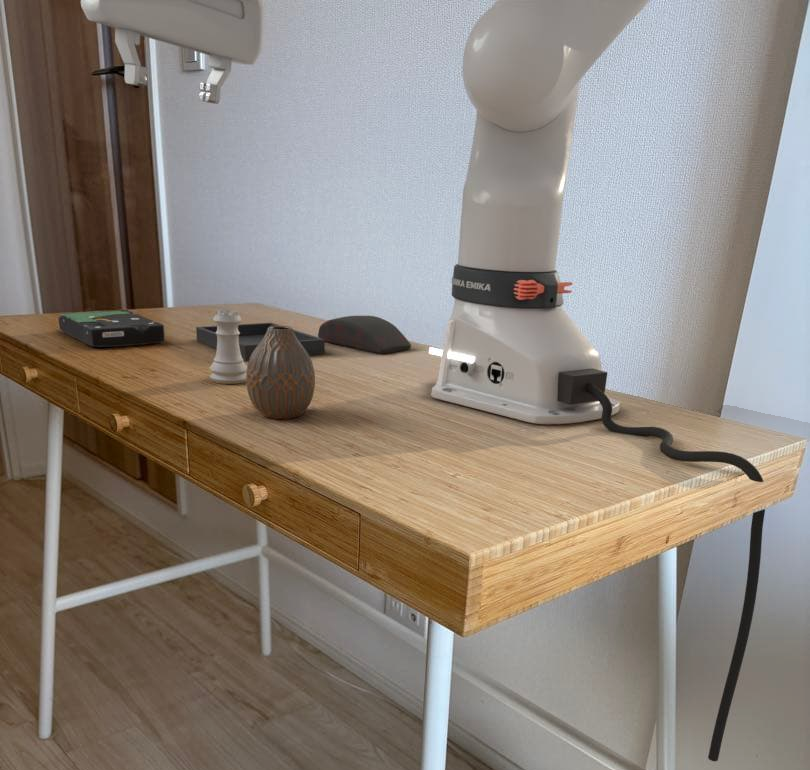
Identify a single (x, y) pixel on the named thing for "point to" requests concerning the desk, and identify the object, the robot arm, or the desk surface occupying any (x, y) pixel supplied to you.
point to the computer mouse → (364, 334)
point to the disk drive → (111, 328)
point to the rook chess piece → (228, 350)
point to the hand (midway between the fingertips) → (173, 94)
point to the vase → (280, 375)
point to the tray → (258, 338)
